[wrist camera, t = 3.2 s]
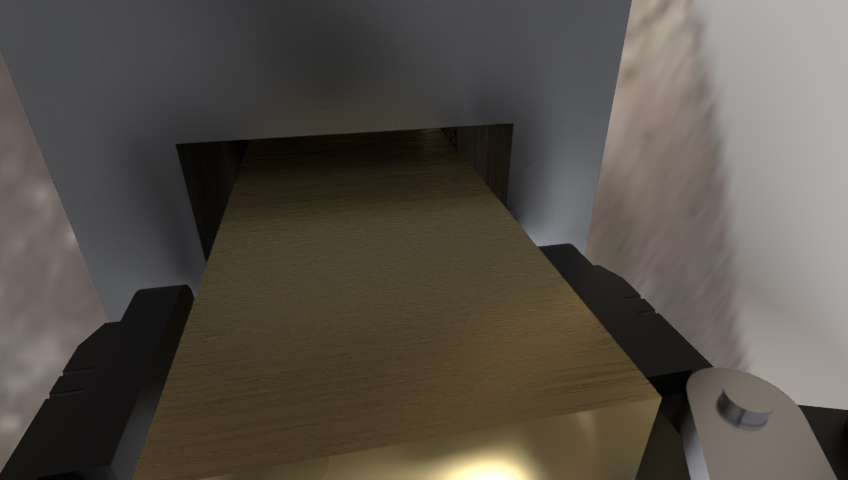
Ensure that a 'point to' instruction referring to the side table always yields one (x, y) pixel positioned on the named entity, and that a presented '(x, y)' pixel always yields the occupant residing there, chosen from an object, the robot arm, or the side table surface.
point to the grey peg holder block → (300, 106)
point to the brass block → (388, 332)
